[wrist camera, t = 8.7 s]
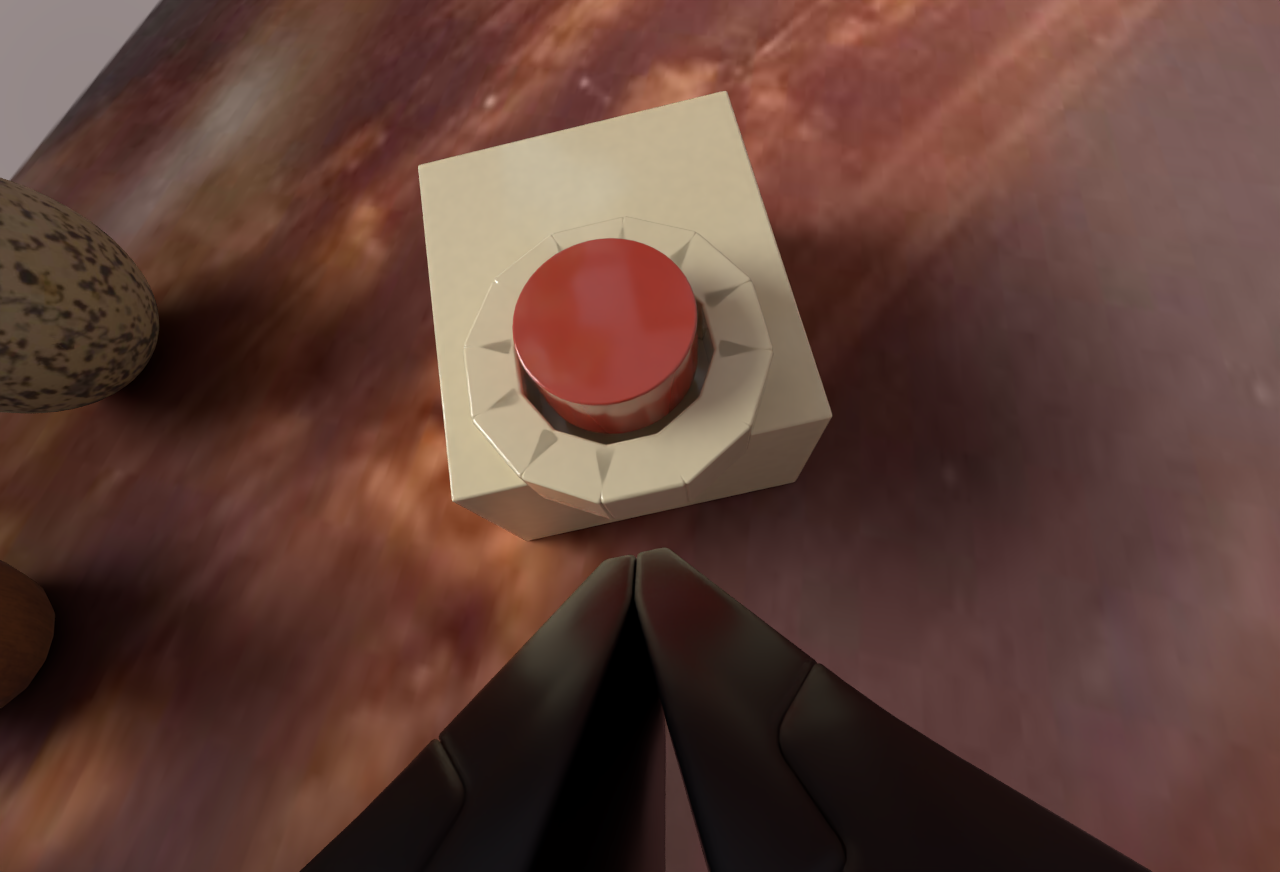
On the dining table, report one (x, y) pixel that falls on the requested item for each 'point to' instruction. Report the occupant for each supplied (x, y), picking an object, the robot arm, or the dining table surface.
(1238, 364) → the dining table surface
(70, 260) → the decorative egg
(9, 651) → the wooden figurine
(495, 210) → the button base
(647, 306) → the red push button
